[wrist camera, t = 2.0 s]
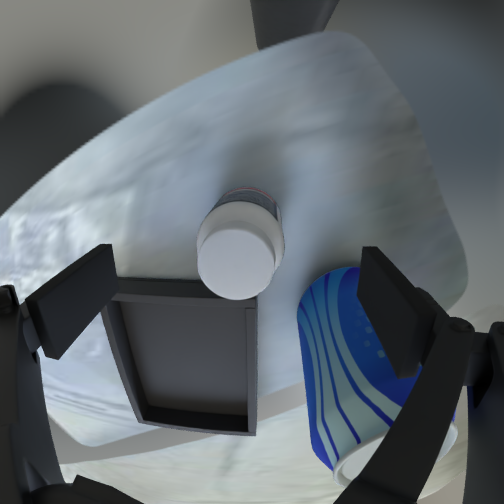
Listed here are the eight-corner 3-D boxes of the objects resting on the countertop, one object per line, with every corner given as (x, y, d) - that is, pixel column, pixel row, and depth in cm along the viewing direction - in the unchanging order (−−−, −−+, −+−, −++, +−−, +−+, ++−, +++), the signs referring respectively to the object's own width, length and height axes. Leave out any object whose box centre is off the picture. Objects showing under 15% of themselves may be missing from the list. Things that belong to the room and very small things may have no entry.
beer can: (404, 294, 25) (492, 427, 10) (342, 356, 28) (379, 501, 13) (340, 240, 24) (426, 383, 9) (276, 313, 26) (277, 481, 11)
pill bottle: (203, 198, 23) (167, 231, 15) (268, 177, 22) (268, 198, 14) (227, 260, 25) (206, 319, 16) (289, 241, 24) (299, 295, 16)
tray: (110, 276, 26) (95, 291, 23) (257, 281, 25) (255, 298, 22) (145, 405, 32) (138, 422, 29) (257, 416, 31) (255, 436, 29)
